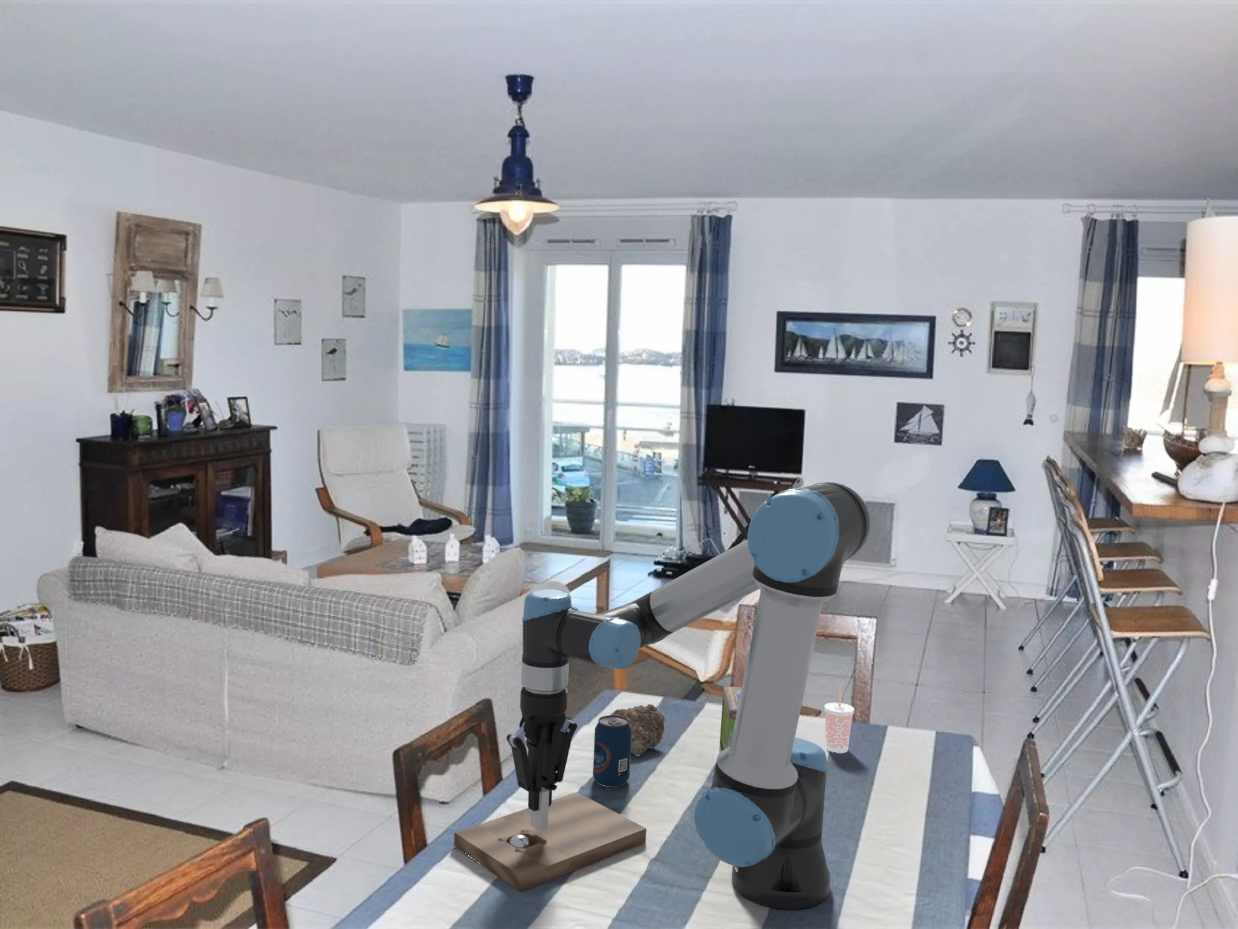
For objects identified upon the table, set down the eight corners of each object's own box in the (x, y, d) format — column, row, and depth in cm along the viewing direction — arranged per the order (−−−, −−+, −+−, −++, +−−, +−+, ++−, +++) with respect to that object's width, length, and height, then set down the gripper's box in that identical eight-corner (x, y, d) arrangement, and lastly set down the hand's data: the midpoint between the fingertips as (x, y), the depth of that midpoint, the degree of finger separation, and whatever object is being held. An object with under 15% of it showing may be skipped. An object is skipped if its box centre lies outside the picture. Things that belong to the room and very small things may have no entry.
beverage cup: (820, 752, 224) (824, 686, 222) (823, 741, 230) (827, 677, 228) (850, 756, 222) (854, 690, 221) (852, 746, 228) (857, 681, 226)
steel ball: (537, 841, 174) (523, 835, 172) (529, 863, 173) (514, 857, 171) (524, 835, 177) (509, 829, 175) (515, 856, 176) (500, 850, 174)
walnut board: (645, 842, 181) (646, 828, 180) (521, 891, 163) (521, 876, 163) (576, 805, 194) (576, 792, 193) (453, 847, 176) (454, 832, 176)
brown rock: (623, 764, 214) (609, 715, 215) (602, 764, 221) (588, 717, 223) (680, 741, 221) (666, 694, 222) (657, 742, 229) (644, 696, 230)
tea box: (776, 787, 205) (781, 712, 204) (723, 785, 205) (727, 710, 204) (767, 757, 220) (771, 686, 218) (718, 754, 220) (721, 684, 219)
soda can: (585, 779, 205) (587, 718, 204) (614, 771, 210) (617, 711, 208) (607, 792, 200) (609, 729, 198) (636, 784, 204) (639, 722, 203)
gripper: (561, 673, 181) (555, 808, 183) (497, 688, 172) (492, 829, 175) (590, 685, 175) (584, 824, 178) (525, 701, 166) (520, 847, 169)
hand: (539, 826), depth 176 cm, fingers closed
